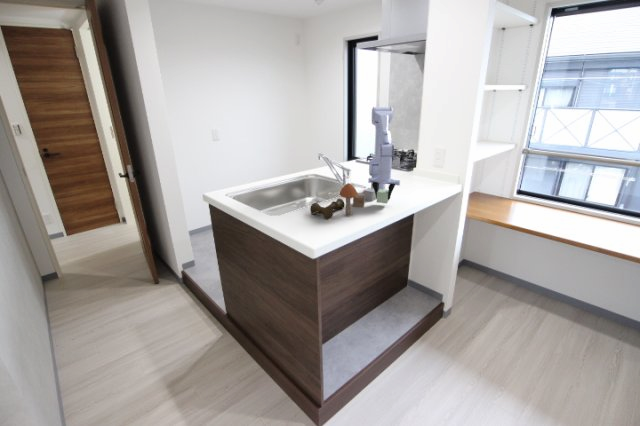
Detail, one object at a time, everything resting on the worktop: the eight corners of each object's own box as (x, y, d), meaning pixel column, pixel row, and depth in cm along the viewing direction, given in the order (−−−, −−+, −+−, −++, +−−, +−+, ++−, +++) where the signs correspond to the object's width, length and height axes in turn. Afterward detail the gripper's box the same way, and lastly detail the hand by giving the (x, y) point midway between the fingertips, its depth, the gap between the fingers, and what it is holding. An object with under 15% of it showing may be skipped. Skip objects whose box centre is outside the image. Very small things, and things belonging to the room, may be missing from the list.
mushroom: (342, 219, 139) (342, 186, 133) (336, 213, 146) (336, 181, 140) (359, 217, 141) (360, 184, 135) (353, 211, 148) (353, 179, 142)
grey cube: (368, 197, 166) (368, 187, 165) (376, 198, 164) (377, 189, 162) (363, 199, 163) (363, 190, 161) (372, 201, 160) (372, 192, 158)
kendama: (349, 211, 149) (319, 223, 135) (333, 207, 155) (303, 218, 141) (349, 199, 147) (319, 210, 133) (333, 195, 153) (303, 205, 139)
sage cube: (378, 199, 156) (379, 189, 154) (389, 200, 154) (389, 190, 152) (376, 202, 151) (377, 192, 150) (387, 203, 150) (387, 193, 148)
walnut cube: (354, 203, 158) (354, 193, 156) (364, 204, 157) (364, 194, 155) (352, 207, 153) (353, 197, 151) (363, 207, 152) (363, 197, 150)
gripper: (367, 171, 146) (366, 199, 151) (399, 173, 141) (396, 202, 146) (370, 167, 152) (369, 194, 157) (401, 170, 147) (399, 197, 152)
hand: (383, 198), depth 152 cm, fingers closed on sage cube, 5 cm apart
